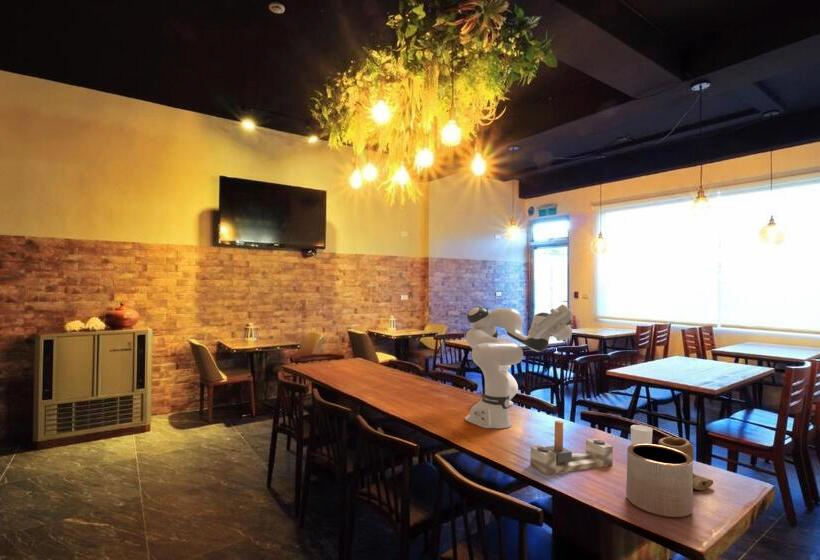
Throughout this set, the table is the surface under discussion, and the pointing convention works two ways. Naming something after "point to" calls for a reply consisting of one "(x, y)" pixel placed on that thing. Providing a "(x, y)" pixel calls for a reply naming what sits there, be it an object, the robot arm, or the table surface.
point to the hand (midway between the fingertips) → (543, 317)
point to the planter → (660, 480)
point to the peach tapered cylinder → (560, 445)
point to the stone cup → (687, 448)
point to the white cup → (641, 434)
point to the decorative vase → (512, 382)
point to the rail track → (592, 458)
